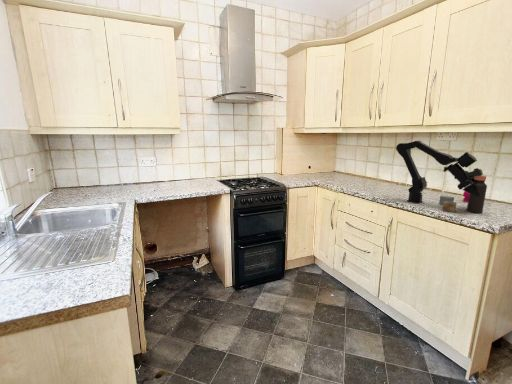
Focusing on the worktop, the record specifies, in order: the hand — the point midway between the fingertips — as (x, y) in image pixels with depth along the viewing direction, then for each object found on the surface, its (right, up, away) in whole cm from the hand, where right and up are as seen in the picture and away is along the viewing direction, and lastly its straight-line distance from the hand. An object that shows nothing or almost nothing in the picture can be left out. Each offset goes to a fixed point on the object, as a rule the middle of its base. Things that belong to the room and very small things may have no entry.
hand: (480, 195), depth 143 cm
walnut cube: (-13, -9, +5) cm, 17 cm away
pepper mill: (+14, -5, +25) cm, 29 cm away
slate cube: (-5, -6, +19) cm, 20 cm away
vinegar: (-1, -9, +3) cm, 10 cm away
